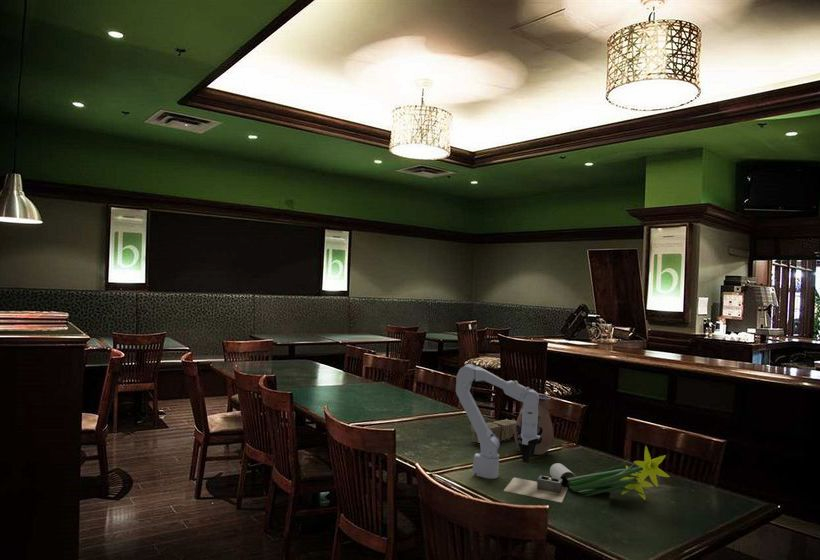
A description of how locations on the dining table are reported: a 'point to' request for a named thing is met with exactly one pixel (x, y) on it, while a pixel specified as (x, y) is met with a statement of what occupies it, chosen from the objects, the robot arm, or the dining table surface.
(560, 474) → the mug
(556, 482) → the dark grey open box
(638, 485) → the daffodil flowers
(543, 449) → the ceramic pitcher
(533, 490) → the birch board
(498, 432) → the tan block
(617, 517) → the dining table surface
